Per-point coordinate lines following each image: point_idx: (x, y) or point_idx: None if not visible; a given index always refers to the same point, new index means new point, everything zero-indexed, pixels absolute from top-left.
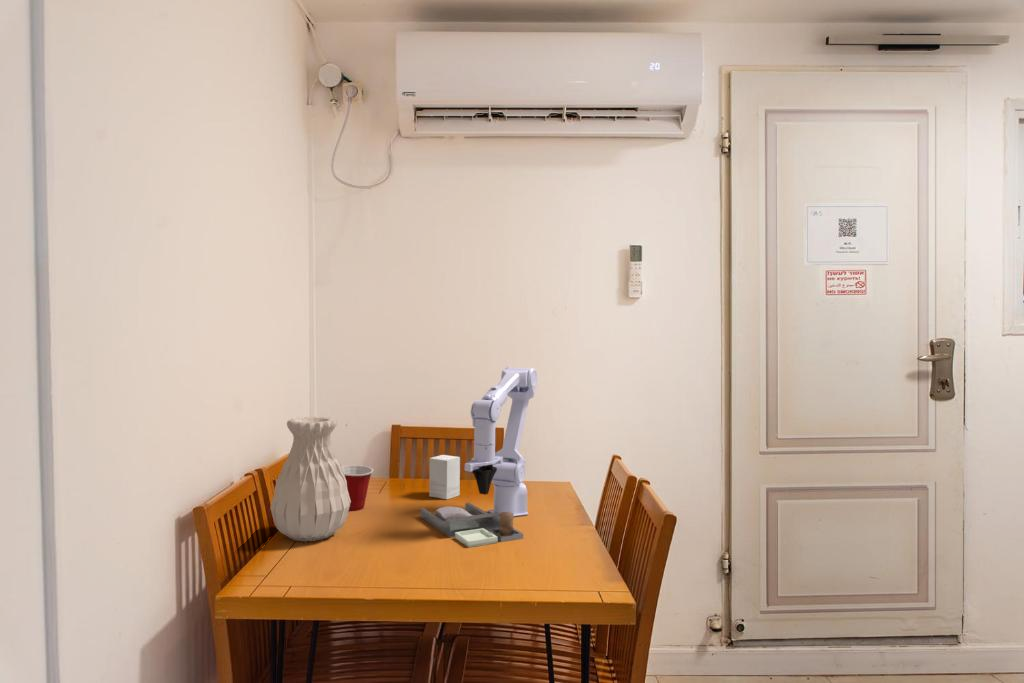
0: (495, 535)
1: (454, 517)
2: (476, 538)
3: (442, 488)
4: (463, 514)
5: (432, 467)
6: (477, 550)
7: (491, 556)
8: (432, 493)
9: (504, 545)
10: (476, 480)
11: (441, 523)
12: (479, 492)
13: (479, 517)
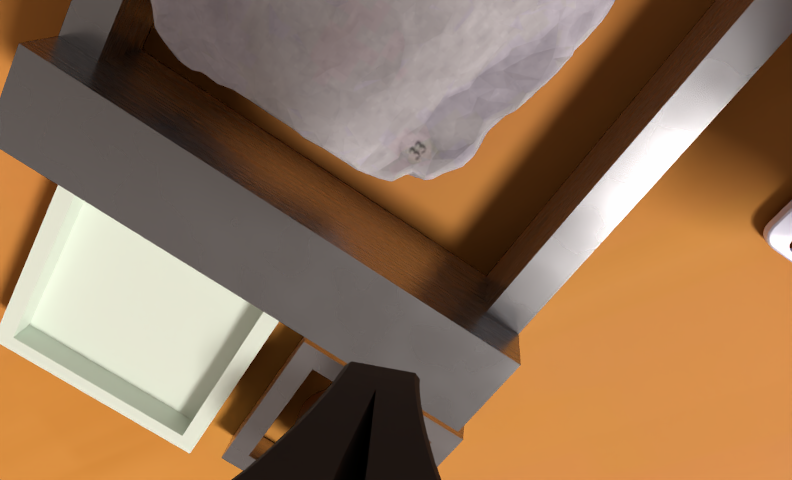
0: (260, 400)
1: (237, 18)
2: (143, 314)
3: None
4: (384, 43)
5: None
6: (26, 380)
7: (12, 471)
8: None
9: (195, 470)
10: (241, 477)
11: None
12: (343, 371)
13: (279, 300)
